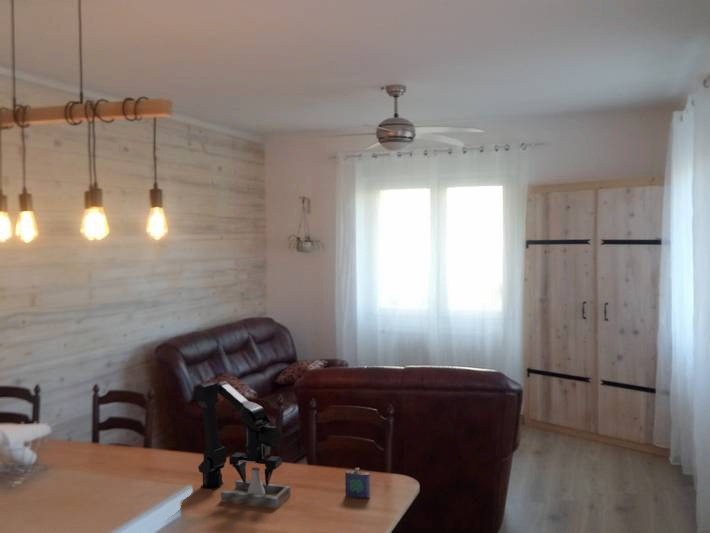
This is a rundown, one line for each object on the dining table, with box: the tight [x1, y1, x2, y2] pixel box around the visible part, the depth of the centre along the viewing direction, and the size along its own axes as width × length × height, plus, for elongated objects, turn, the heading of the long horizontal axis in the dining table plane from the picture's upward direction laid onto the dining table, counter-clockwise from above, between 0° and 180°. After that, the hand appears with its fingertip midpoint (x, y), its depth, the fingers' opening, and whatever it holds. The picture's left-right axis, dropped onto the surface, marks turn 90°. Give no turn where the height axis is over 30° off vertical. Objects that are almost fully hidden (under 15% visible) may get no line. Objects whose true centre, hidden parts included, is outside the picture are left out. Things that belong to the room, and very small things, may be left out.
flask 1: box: [247, 467, 266, 496], centre depth 231 cm, size 7×7×10 cm
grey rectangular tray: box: [220, 479, 292, 510], centre depth 231 cm, size 22×12×4 cm, turn 72°
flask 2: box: [344, 467, 371, 500], centre depth 232 cm, size 9×3×11 cm, turn 74°
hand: (255, 483), depth 231 cm, fingers open, 9 cm apart
